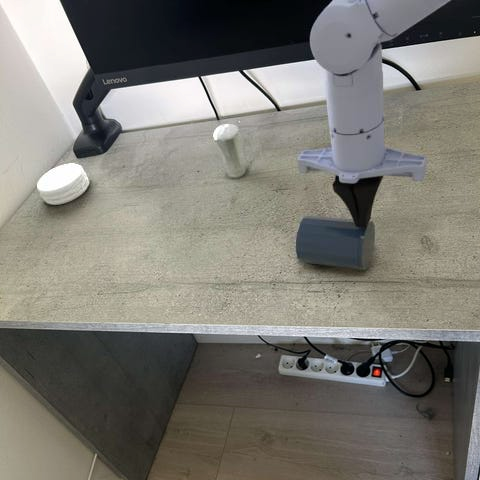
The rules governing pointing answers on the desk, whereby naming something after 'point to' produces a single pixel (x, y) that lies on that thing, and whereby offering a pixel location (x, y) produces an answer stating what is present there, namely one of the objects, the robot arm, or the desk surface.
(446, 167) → the desk surface
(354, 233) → the tumbler
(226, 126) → the milkshake
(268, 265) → the desk surface
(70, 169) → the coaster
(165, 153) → the desk surface
